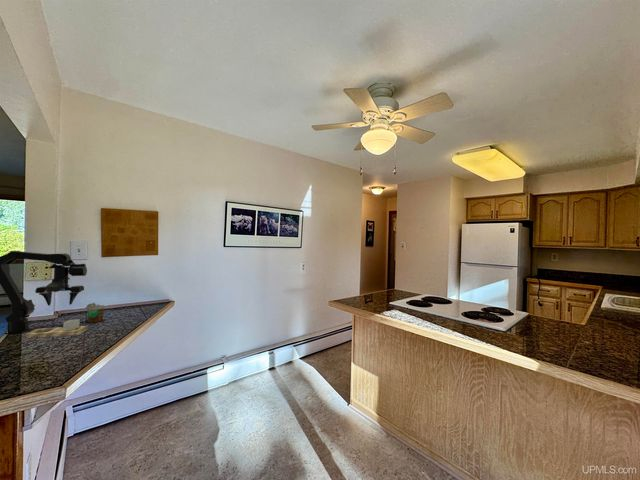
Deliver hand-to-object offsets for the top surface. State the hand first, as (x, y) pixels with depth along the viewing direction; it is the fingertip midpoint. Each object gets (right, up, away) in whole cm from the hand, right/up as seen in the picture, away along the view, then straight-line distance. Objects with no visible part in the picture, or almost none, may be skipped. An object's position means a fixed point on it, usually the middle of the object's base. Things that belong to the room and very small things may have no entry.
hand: (59, 305), depth 145 cm
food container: (+7, -13, +13) cm, 20 cm away
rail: (+8, -12, -9) cm, 17 cm away
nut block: (+13, -12, -7) cm, 20 cm away
